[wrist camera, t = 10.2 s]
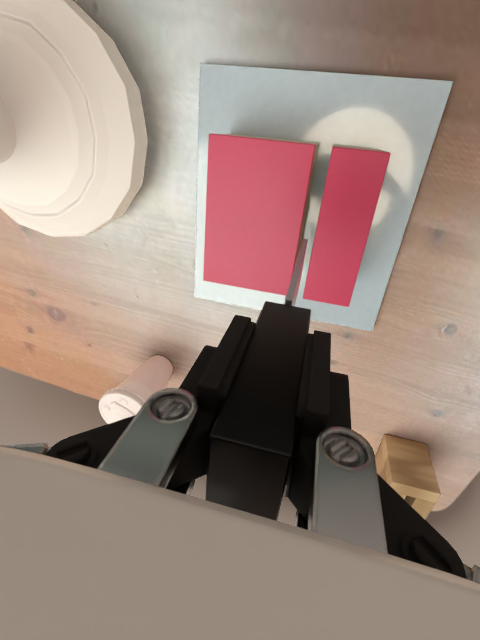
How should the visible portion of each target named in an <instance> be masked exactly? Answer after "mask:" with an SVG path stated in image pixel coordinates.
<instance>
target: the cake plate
mask: <svg viewBox="0 0 480 640" xmlns="http://www.w3.org/2000/svg"><path fill="white" fill-rule="evenodd" d="M452 84H453V81H445V80H431V79H417V78H403V77H388V76H374V75H360V74H346V73H331V72H317V71H303V70H289V69H275V68H260V67H246V66H232V65H218V64H203V63H200V84H199V124H198V165H197V205H196V246H195V286H194V297H195V298H200V299H205V300H210V301H215V302H221V303H226V304H231V305H236V306H241V307H247V308H252V309H257V310H262V308H263V305H264V303H265V301H268V302H274V303H279V304H284V303H285V298H286V296H285V295H279V294H274V293H268V292H263V291H257V290H252V289H246V288H241V287H235V286H230V285H224V284H219V283H213V282H208V281H203V272H204V245H205V219H206V193H207V166H208V140H209V133H212V134H235V135H245V136H254V137H264V138H273V139H283V140H292V141H302V142H311V143H318V144H319V145H318V151H317V157H316V162H315V168H314V173H313V179H312V185H311V190H310V196H309V201H308V207H307V213H306V218H305V224H304V229H303V235H302V240H301V245H302V241H303V239H308V243H307V248H306V254H305V259H304V264H303V270H302V275H301V280H300V285H299V290H298V294H297V298H296V303H295V306H296V307H301V308H306V309H311V317H310V320H314V321H320V322H325V323H330V324H335V325H341V326H346V327H351V328H356V329H361V330H367V331H372V330H373V327H374V324H375V321H376V318H377V315H378V312H379V309H380V305H381V302H382V299H383V296H384V293H385V290H386V287H387V284H388V281H389V278H390V275H391V272H392V269H393V265H394V262H395V259H396V256H397V253H398V250H399V247H400V244H401V241H402V238H403V235H404V232H405V229H406V225H407V222H408V219H409V216H410V213H411V210H412V207H413V204H414V201H415V198H416V195H417V192H418V189H419V185H420V182H421V179H422V176H423V173H424V170H425V167H426V164H427V161H428V158H429V155H430V152H431V149H432V145H433V142H434V139H435V136H436V133H437V130H438V127H439V124H440V121H441V118H442V115H443V112H444V108H445V105H446V102H447V99H448V96H449V93H450V90H451V87H452ZM333 145H340V146H349V147H359V148H368V149H378V150H383V151H386V152H390V153H391V155H390V159H389V163H388V166H387V170H386V174H385V177H384V181H383V185H382V188H381V192H380V195H379V199H378V203H377V206H376V210H375V214H374V217H373V221H372V225H371V228H370V232H369V236H368V239H367V243H366V246H365V250H364V254H363V257H362V261H361V265H360V268H359V272H358V276H357V279H356V283H355V286H354V290H353V294H352V297H351V301H350V305H349V307H346V306H340V305H335V304H329V303H324V302H318V301H313V300H307V299H303V293H304V288H305V283H306V278H307V273H308V268H309V263H310V258H311V253H312V248H313V243H314V238H315V233H316V227H317V222H318V217H319V212H320V207H321V202H322V197H323V192H324V187H325V182H326V177H327V172H328V167H329V161H330V156H331V151H332V147H333ZM300 248H301V246H300Z"/></svg>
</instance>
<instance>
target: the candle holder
mask: <svg viewBox="0 0 480 640" xmlns="http://www.w3.org/2000/svg"><path fill="white" fill-rule="evenodd" d="M147 145H148V138H147V132H146V126H145V120H144V113H143V107H142V101H141V95H140V90H139V88H138V86H137V84H136V82H135V80H134V78H133V76H132V75H131V73H130V71H129V69H128V67H127V65H126V63H125V62H124V60H123V58H122V56H121V54H120V52H119V50H118V49H117V47H116V45H115V43H114V41H113V40H112V39H111V38H110V37H109V36H108V35H107V34H106V33H105V32H104V31H103V30H102V29H101V28H100V27H99V26H98V25H97V24H96V23H95V22H94V21H93V20H92V19H91V18H90V17H89V16H88V15H87V14H86V13H85V12H84V11H83V10H82V9H81V8H80V7H79V6H78V5H77V4H76V3H75V2H74V1H72V0H0V208H1V209H2V210H3V211H4V212H5V213H6V214H8V215H9V216H10V217H11V218H12V219H13V220H15V221H16V222H17V223H18V224H20V225H23V226H26V227H28V228H31V229H34V230H36V231H39V232H41V233H44V234H47V235H49V236H85V235H88V234H90V233H93V232H96V231H98V230H99V229H101V228H103V227H104V226H106V225H107V224H109V223H111V222H112V221H114V220H115V219H117V218H118V217H120V216H122V215H123V214H124V213H125V211H126V210H127V208H128V207H129V205H130V203H131V202H132V200H133V199H134V197H135V196H136V194H137V192H138V191H139V189H140V188H141V186H142V185H143V177H144V169H145V161H146V153H147Z"/></svg>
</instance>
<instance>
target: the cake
mask: <svg viewBox="0 0 480 640" xmlns="http://www.w3.org/2000/svg"><path fill="white" fill-rule="evenodd" d="M318 145H319V144H318V143H311V142H302V141H292V140H283V139H273V138H264V137H254V136H245V135H235V134H212V133H209V140H208V166H207V193H206V219H205V245H204V272H203V281H208V282H213V283H219V284H224V285H230V286H235V287H241V288H246V289H252V290H257V291H263V292H268V293H274V294H279V295H285V296H286V295H287V291H288V288H289V285H290V281H291V278H292V275H293V271H294V268H295V265H296V261H297V258H298V255H299V251H300V246H301V240H302V235H303V229H304V224H305V218H306V213H307V207H308V201H309V196H310V190H311V185H312V179H313V173H314V168H315V162H316V157H317V151H318Z"/></svg>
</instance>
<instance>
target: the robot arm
mask: <svg viewBox="0 0 480 640" xmlns="http://www.w3.org/2000/svg"><path fill="white" fill-rule="evenodd" d="M255 326H256V323H253V322H251V318H249V317H244V316H238V315H235V316H234V318H233V320H232V322H231V324H230V325H229V327H228V329H227V331H226V333H225V335H224V336H223V338H222V340H221V342H220V344H219V345H218V347H212V346H208V345H207V346H205V347H204V348H203V350H202V352H201V353H200V355H199V357H198V358H197V360H196V361H195V363H194V365H193V366H192V368H191V370H190V371H189V373H188V374H187V376H186V378H185V379H184V381H183V383H182V384H181V386H180V387H179V388H166V389H163V390H159V391H157V392H155V393H154V394H152V395H151V396H150V397H149V398H148V399H147V400H146V402H145V403H144V404H143V406H142V407H141V409H140V410H139V411H138V413H137V414H136V415H134V416H131V417H128V418H125V419H122V420H119V421H116V422H113V423H110V424H107V425H104V426H101V427H98V428H95V429H92V430H89V431H86V432H83V433H80V434H77V435H74V436H71V437H68V438H66V439H64V440H61V441H60V442H58V443H57V444H55V445H54V446H53V447H48V445H47V443H37V444H20V445H1V446H0V640H480V567H478V566H476V565H474V566H473V567H472V569H471V568H470V567H468V566H466V565H465V564H463V563H462V561H461V559H460V557H459V556H458V554H457V552H456V551H455V550H454V549H453V548H452V546H451V545H450V544H449V543H448V542H447V541H446V540H445V539H444V538H443V537H442V536H441V535H440V534H439V533H438V532H437V531H436V530H435V529H434V528H433V527H432V526H431V525H430V524H429V523H428V522H427V521H426V520H425V519H424V518H423V517H422V516H421V515H420V514H419V513H418V512H417V511H416V510H414V509H413V508H412V507H411V506H410V505H409V504H408V503H407V502H406V501H405V500H404V499H403V498H402V497H401V496H400V495H399V494H398V493H397V492H396V491H395V490H394V489H393V488H392V487H391V486H390V485H389V484H388V483H387V482H386V481H385V480H384V479H383V478H382V477H381V476H380V475H378V474H377V469H376V462H375V455H374V452H373V449H372V447H371V445H370V444H369V443H368V441H367V440H366V439H365V438H364V437H362V436H361V435H360V434H358V433H357V432H355V431H353V430H351V415H350V398H349V380H348V375H345V374H340V373H335V372H330V349H331V333H326V332H321V331H316V330H315V331H314V334H310V333H308V334H307V340H306V347H305V354H304V361H303V368H302V376H301V383H300V390H299V397H298V405H297V412H296V415H297V424H296V431H295V439H294V447H293V454H292V460H291V464H290V468H289V472H288V476H287V480H286V485H287V489H286V497H288V498H289V499H290V501H291V502H292V503H293V505H294V506H295V507H296V509H297V512H296V517H295V526H292V525H289V524H286V523H282V522H279V521H275V520H272V519H268V518H265V517H262V516H258V515H255V514H251V513H248V512H244V511H241V510H238V509H234V508H231V507H227V506H224V505H220V504H217V503H213V502H210V501H207V500H203V499H199V498H196V497H193V496H190V494H191V492H192V489H193V487H194V483H195V479H196V478H198V477H201V476H203V475H205V474H206V475H207V466H208V450H209V435H210V433H211V430H212V428H213V425H214V423H215V421H216V418H217V416H218V413H219V411H220V409H221V406H222V404H223V401H224V399H225V398H226V397H227V394H228V392H229V389H230V387H231V384H232V382H233V380H234V377H235V375H236V372H237V370H238V368H239V365H240V363H241V360H242V358H243V355H244V353H245V351H246V348H247V346H248V343H249V341H250V338H251V336H252V334H253V331H254V329H255Z"/></svg>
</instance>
